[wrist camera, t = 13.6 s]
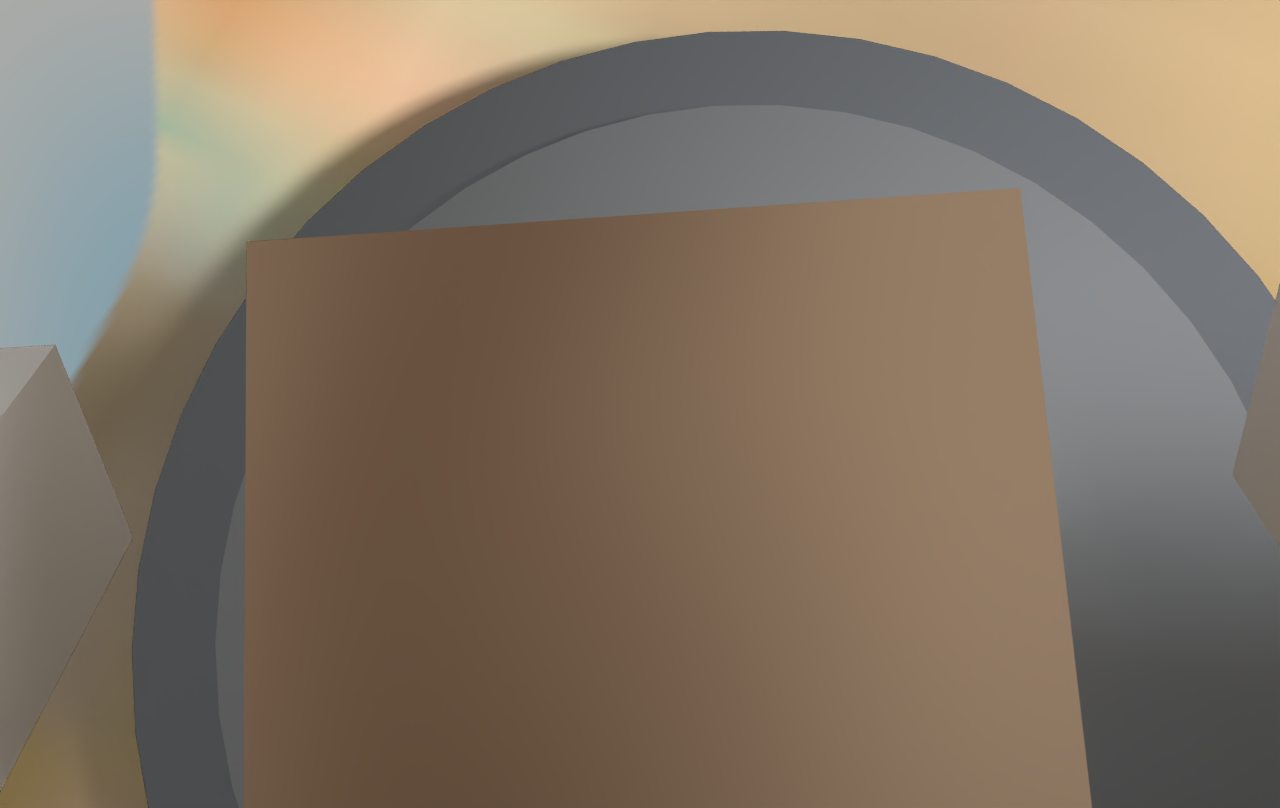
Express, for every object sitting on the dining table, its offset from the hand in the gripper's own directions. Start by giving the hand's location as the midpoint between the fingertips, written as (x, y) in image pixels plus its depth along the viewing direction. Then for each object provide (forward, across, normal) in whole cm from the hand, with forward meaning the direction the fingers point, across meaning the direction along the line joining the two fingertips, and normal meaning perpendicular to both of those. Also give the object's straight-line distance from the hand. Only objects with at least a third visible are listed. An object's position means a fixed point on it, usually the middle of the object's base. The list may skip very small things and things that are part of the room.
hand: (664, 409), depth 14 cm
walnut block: (+3, 0, -6) cm, 7 cm away
